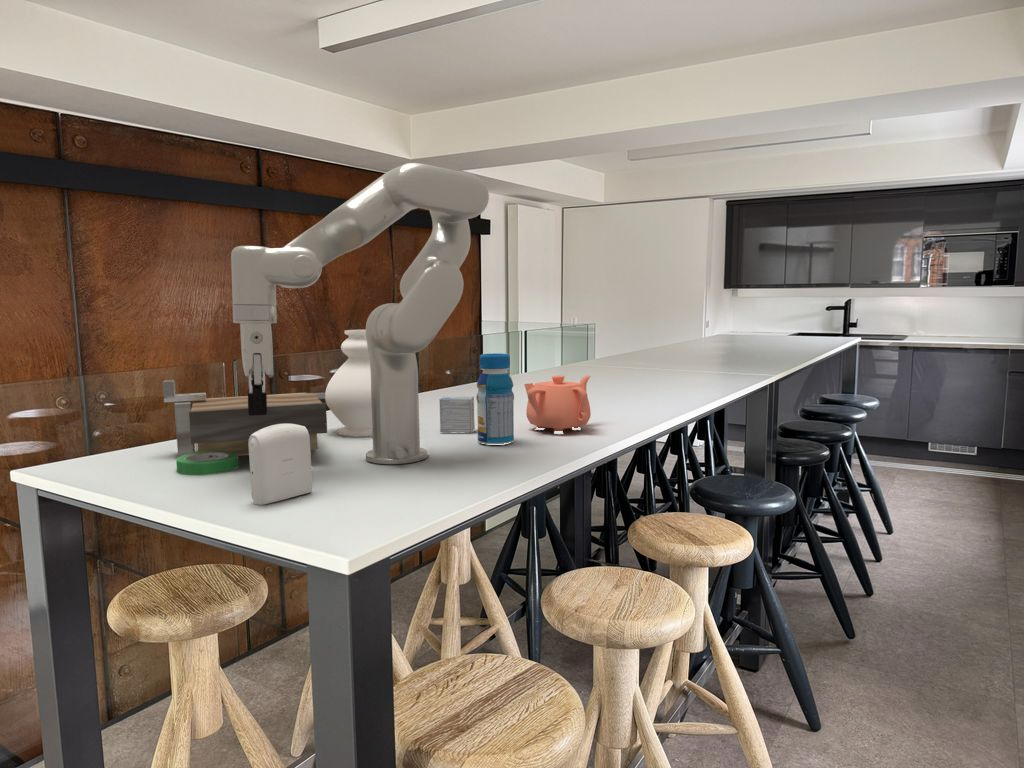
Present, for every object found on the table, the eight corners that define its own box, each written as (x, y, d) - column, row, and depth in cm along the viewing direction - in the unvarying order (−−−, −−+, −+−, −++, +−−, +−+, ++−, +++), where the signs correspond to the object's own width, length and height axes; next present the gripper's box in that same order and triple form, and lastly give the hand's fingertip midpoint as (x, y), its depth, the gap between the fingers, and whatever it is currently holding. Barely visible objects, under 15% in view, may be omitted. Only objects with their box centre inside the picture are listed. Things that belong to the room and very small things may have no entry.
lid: (327, 433, 144) (326, 403, 143) (191, 443, 135) (189, 412, 134) (314, 415, 165) (312, 389, 164) (195, 423, 156) (193, 396, 155)
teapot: (524, 424, 184) (524, 372, 183) (590, 423, 185) (590, 371, 183) (527, 436, 168) (526, 379, 167) (598, 436, 169) (599, 379, 167)
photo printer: (261, 507, 114) (257, 430, 113) (247, 502, 117) (243, 427, 115) (316, 493, 122) (313, 421, 120) (302, 489, 125) (298, 419, 123)
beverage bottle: (502, 448, 156) (501, 356, 154) (469, 444, 160) (468, 355, 158) (521, 441, 164) (520, 353, 161) (489, 437, 168) (488, 352, 165)
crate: (317, 449, 157) (315, 397, 156) (177, 461, 147) (173, 406, 146) (307, 433, 176) (305, 387, 174) (182, 442, 165) (179, 394, 164)
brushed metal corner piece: (205, 399, 152) (204, 379, 151) (164, 402, 149) (162, 381, 148) (206, 398, 155) (205, 378, 154) (165, 400, 152) (163, 380, 151)
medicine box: (475, 430, 177) (474, 395, 176) (472, 434, 173) (471, 398, 172) (443, 430, 178) (442, 395, 177) (439, 433, 173) (439, 398, 172)
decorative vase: (384, 422, 189) (381, 327, 186) (412, 433, 174) (409, 330, 171) (317, 430, 180) (313, 330, 177) (340, 442, 165) (336, 333, 162)
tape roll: (250, 465, 144) (249, 452, 144) (210, 478, 134) (209, 464, 134) (206, 461, 148) (205, 448, 148) (164, 474, 138) (163, 460, 137)
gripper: (279, 316, 125) (281, 419, 127) (273, 314, 139) (276, 408, 141) (233, 315, 122) (236, 422, 124) (232, 314, 136) (235, 409, 138)
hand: (257, 414), depth 133 cm, fingers closed
